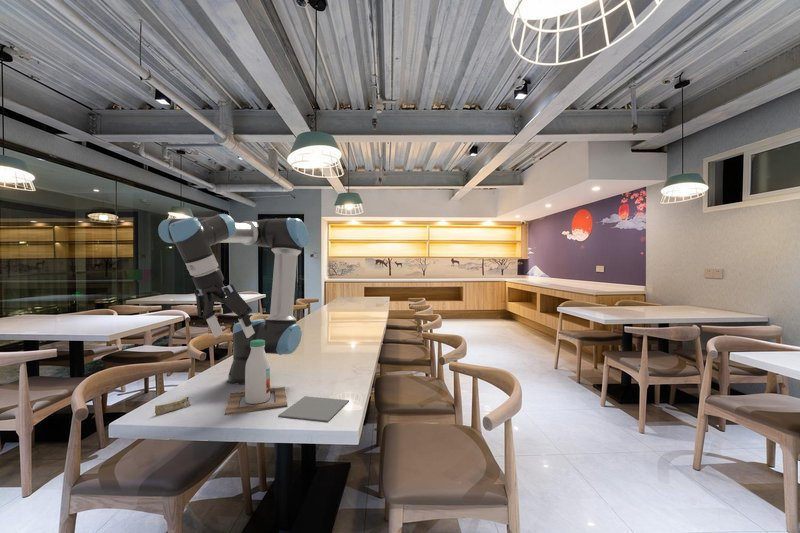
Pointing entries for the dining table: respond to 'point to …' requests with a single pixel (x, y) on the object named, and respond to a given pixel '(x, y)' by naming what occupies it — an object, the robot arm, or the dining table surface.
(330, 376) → the dining table surface
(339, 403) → the rubber mat
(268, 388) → the milk bottle
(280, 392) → the wooden frame
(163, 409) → the snack bar
